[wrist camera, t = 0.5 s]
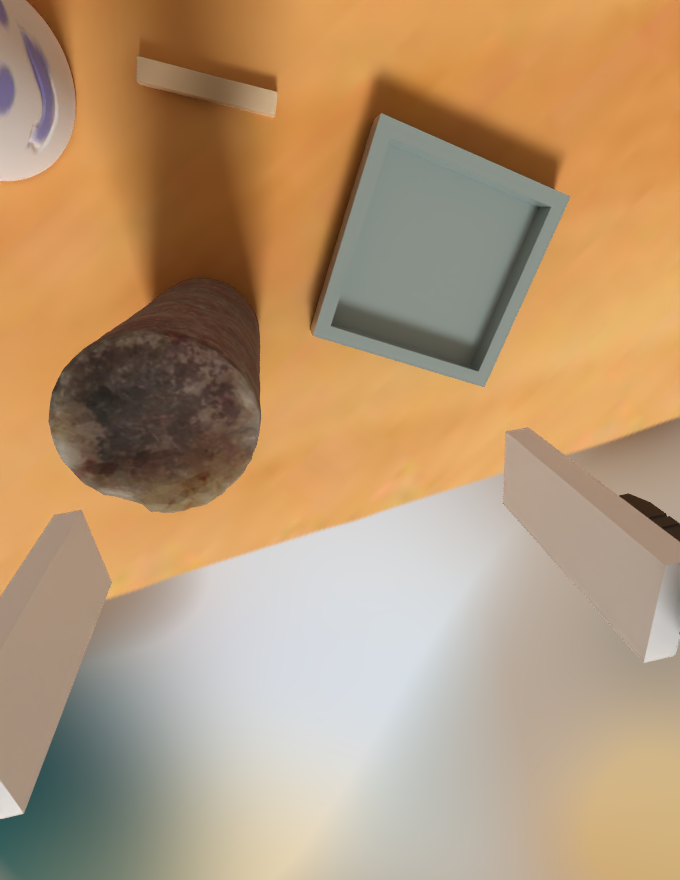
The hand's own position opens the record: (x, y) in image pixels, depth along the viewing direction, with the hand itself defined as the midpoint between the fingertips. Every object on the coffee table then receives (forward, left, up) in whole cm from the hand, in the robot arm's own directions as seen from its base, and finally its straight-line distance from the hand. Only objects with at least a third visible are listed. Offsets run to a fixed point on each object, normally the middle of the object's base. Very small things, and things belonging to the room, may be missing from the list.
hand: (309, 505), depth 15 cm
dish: (+9, +8, -23) cm, 26 cm away
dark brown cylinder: (-5, -1, -23) cm, 24 cm away
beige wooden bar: (-8, +13, -24) cm, 28 cm away
